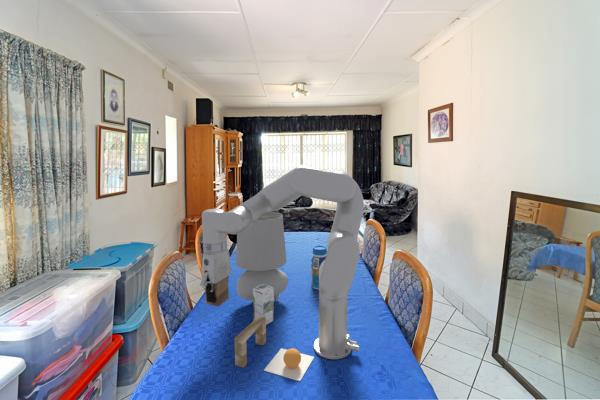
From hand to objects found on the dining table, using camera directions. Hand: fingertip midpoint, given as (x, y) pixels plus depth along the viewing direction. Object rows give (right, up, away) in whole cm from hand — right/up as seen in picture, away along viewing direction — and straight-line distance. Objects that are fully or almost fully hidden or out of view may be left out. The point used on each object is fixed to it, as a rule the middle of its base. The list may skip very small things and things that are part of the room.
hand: (217, 297), depth 110 cm
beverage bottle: (+38, -10, +50) cm, 64 cm away
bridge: (+12, -18, -2) cm, 22 cm away
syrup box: (+14, -15, +17) cm, 27 cm away
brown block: (0, -2, 0) cm, 2 cm away
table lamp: (+12, -13, +33) cm, 37 cm away
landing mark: (+25, -19, -8) cm, 32 cm away
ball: (+26, -16, -9) cm, 32 cm away
